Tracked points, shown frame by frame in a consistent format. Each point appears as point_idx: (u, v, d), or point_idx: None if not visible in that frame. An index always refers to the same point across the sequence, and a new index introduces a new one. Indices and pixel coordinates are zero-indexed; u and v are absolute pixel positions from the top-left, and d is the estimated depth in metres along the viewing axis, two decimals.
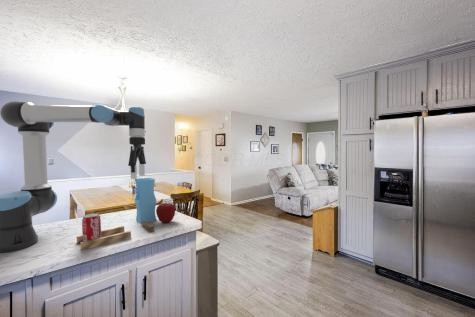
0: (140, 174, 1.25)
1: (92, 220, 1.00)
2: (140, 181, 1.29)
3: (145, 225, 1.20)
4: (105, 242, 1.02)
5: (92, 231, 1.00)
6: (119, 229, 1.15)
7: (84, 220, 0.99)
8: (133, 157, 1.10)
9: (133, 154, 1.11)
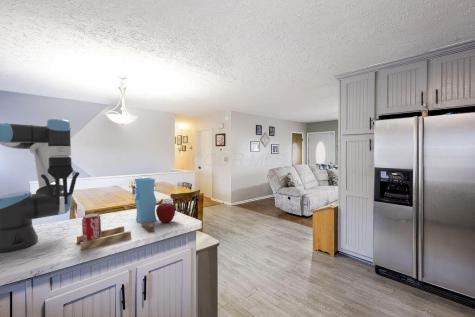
0: None
1: (92, 220, 1.00)
2: (140, 181, 1.30)
3: (145, 225, 1.20)
4: (105, 242, 1.02)
5: (92, 231, 1.00)
6: (119, 229, 1.15)
7: (84, 220, 0.99)
8: (47, 189, 0.91)
9: (46, 185, 0.91)
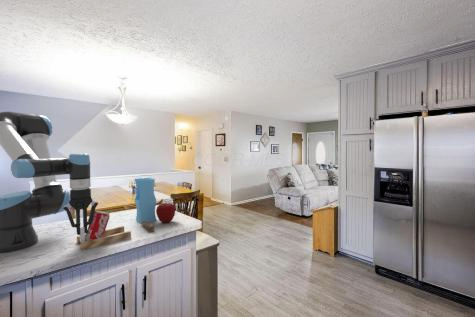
0: None
1: (102, 216, 1.03)
2: (140, 181, 1.29)
3: (145, 225, 1.20)
4: (105, 242, 1.02)
5: (98, 228, 1.01)
6: (119, 229, 1.15)
7: (95, 214, 1.02)
8: (69, 220, 0.96)
9: (68, 216, 0.96)
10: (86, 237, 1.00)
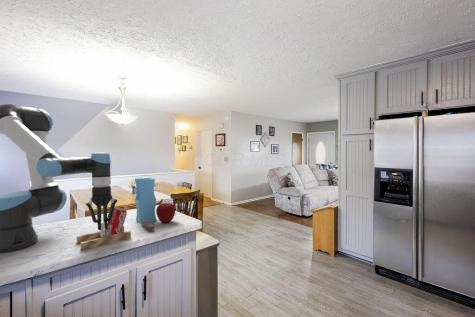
0: None
1: (122, 213, 1.09)
2: (140, 181, 1.29)
3: (145, 225, 1.20)
4: (105, 242, 1.02)
5: (118, 224, 1.07)
6: None
7: (115, 211, 1.08)
8: (91, 215, 1.02)
9: (90, 212, 1.01)
10: (106, 233, 1.05)
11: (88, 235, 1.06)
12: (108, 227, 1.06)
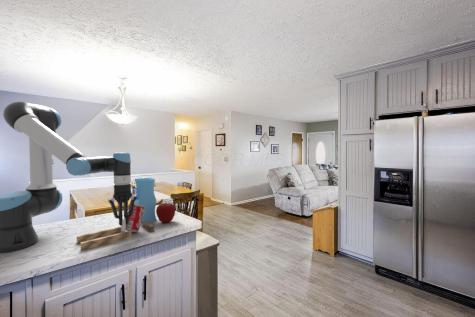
0: None
1: (142, 209, 1.16)
2: (140, 181, 1.30)
3: (145, 225, 1.20)
4: (105, 242, 1.02)
5: (138, 219, 1.14)
6: (119, 229, 1.15)
7: (135, 208, 1.14)
8: (113, 211, 1.08)
9: (112, 208, 1.08)
10: (128, 228, 1.12)
11: (88, 235, 1.06)
12: (129, 223, 1.12)
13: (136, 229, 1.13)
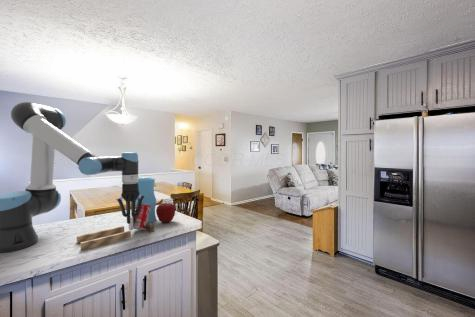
0: None
1: (148, 208, 1.19)
2: (140, 181, 1.29)
3: None
4: (105, 242, 1.02)
5: (145, 217, 1.17)
6: (119, 229, 1.15)
7: (142, 206, 1.17)
8: (121, 210, 1.10)
9: (120, 207, 1.10)
10: (136, 226, 1.14)
11: (88, 235, 1.06)
12: (137, 221, 1.15)
13: (143, 227, 1.16)
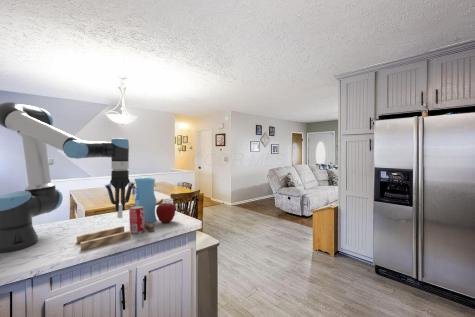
0: None
1: (141, 210, 1.15)
2: (140, 181, 1.29)
3: (145, 225, 1.20)
4: (105, 242, 1.02)
5: (141, 220, 1.15)
6: (119, 229, 1.15)
7: (134, 211, 1.13)
8: (110, 197, 1.07)
9: (109, 194, 1.07)
10: (134, 231, 1.13)
11: (88, 235, 1.06)
12: (133, 226, 1.13)
13: (142, 230, 1.15)
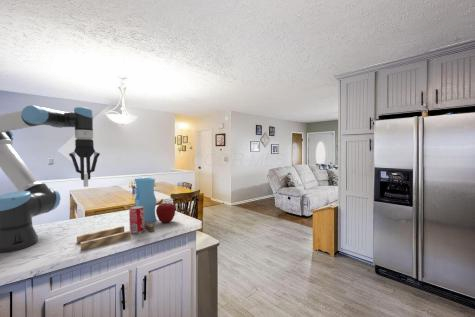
0: None
1: (141, 210, 1.15)
2: (140, 181, 1.29)
3: (145, 225, 1.20)
4: (105, 242, 1.02)
5: (141, 220, 1.15)
6: (119, 229, 1.15)
7: (134, 211, 1.13)
8: (74, 165, 1.09)
9: (73, 162, 1.09)
10: (134, 231, 1.13)
11: (88, 235, 1.06)
12: (133, 226, 1.13)
13: (142, 230, 1.15)
